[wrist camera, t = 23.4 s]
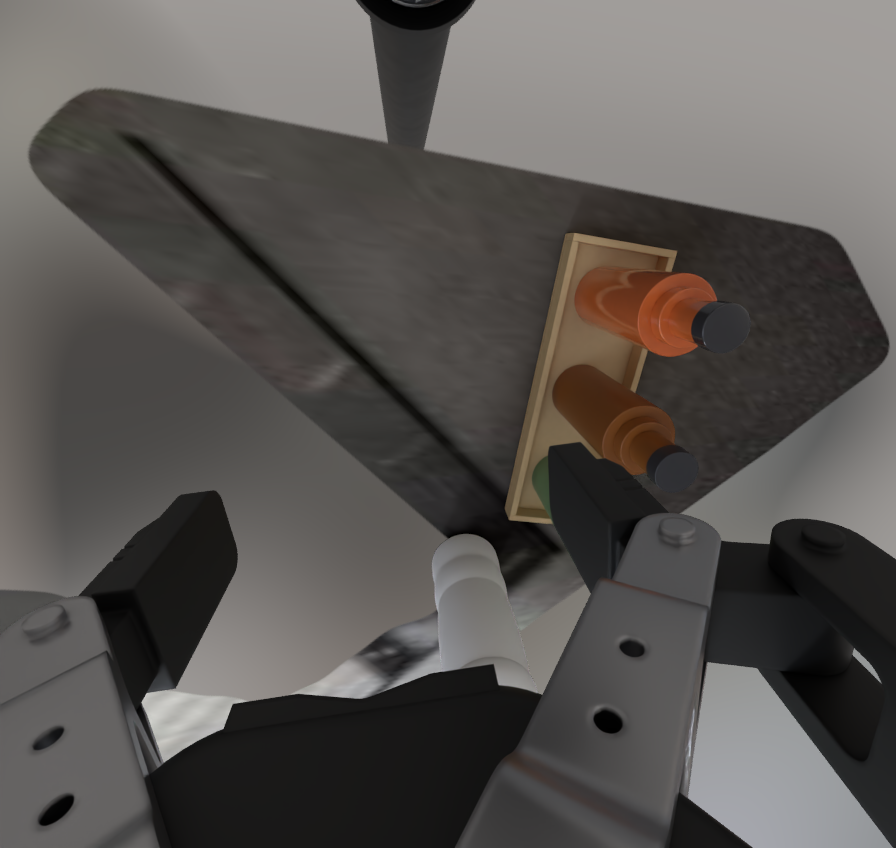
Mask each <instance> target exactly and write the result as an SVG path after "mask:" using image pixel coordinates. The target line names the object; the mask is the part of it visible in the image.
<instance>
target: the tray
mask: <svg viewBox="0 0 896 848" xmlns="http://www.w3.org/2000/svg"><path fill="white" fill-rule="evenodd" d="M676 254H677V251H674V250H668V249H663V248H657V247H651V246H646V245H640V244H635V243H629V242H623V241H618V240H612V239H607V238H601V237H595V236H590V235H584V234H578V233H566V234H565V239H564V243H563V248H562V252H561V257H560V261H559V266H558V270H557V275H556V279H555V284H554V288H553V293H552V297H551V302H550V306H549V311H548V315H547V320H546V324H545V329H544V333H543V338H542V342H541V347H540V352H539V356H538V361H537V365H536V370H535V374H534V379H533V383H532V388H531V392H530V397H529V401H528V406H527V410H526V415H525V419H524V424H523V428H522V433H521V437H520V442H519V446H518V451H517V455H516V460H515V464H514V469H513V473H512V478H511V482H510V487H509V492H508V496H507V501H506V505H505V511H506V513H507V516H508V518H509V520H514V521H525V522H536V523H547V524H553V523H552V521H551V519H550V517H549V515H548V514H547V512H546V510H545V508H544V506H543V504H542V502H541V501H540V499H539V497H538V495H537V493H536V491H535V489H534V487H533V485H532V474H533V471H534V468H535V467H536V465H537V464H538V463H539V461H540V460H542V459H543V458H544V457H546V456H548V450H549V447H550V446H553V445H560V444H568V443H575V442H581V443H582V444H583V445H584V446H585V447H586V448H587V449H588V450H589V451H590V453H591V454H592V455H593V456H594V457H595V458H596V459H602V457H601V456H600V455H599V454H598V453H597V452H596V451H595V450H594V449H593V448H592V447H591V446H590V445H589V443H588V442H587V441H586V440H585V439H584V438H583V437H582V436H581V435H580V434H579V433H578V432H577V431H576V430H575V429H574V427H573V426H572V425H571V424H570V423H569V422H568V421H567V420H566V419H565V418H564V417H563V416H562V415H561V414H560V413H559V411H558V410H557V409H556V408H555V406H554V403H553V400H552V390H553V386H554V384H555V381H556V380H557V378H558V377H559V376H560V374H562V373H563V372H564V371H565V370H567V369H568V368H570V367H573V366H576V365H590V366H593V367H595V368H597V369H598V370H600V371H602V372H603V373H605V374H606V375H608V376H609V377H611V378H613V379H614V380H616V381H617V382H619V383H620V384H622V385H624V386H625V387H627V388H628V389H630V390H631V391H633V392H636V389H637V385H638V382H639V379H640V375H641V372H642V368H643V365H644V362H645V358H646V355H647V352H648V350H646V349H644V348H642V347H639V346H637V345H635V344H632V343H630V342H628V341H625V340H623V339H620V338H618V337H616V336H613V335H611V334H609V333H606V332H604V331H602V330H599V329H597V328H595V327H592V326H590V325H588V324H586V323H585V322H584V321H582V319H581V318H580V317H579V315H578V314H577V312H576V309H575V303H574V298H575V292H576V289H577V286H578V284H579V282H580V281H581V279H582V278H583V277H584V276H585V275H586V274H587V273H588V272H590V271H591V270H593V269H595V268H597V267H600V266H619V267H629V268H639V269H650V270H660V271H670V272H671V271H672V268H673V264H674V261H675V259H674V258H676Z"/></svg>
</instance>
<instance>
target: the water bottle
mask: <svg viewBox="0 0 896 848" xmlns="http://www.w3.org/2000/svg"><path fill="white" fill-rule="evenodd" d="M432 573H433V580H434V584H435V602H436V607H437V610H438V635H439V648H440V658H441V666H442V672H444V671H450V670H457V669H463V668H470V667H476V666H483V665H489V664H494V667H495V671H496V676H497V681H498V685H503V686H511V687H516V688H521V689H526V690H529V691H532V692H536V693H538V691H537V687H536V684H535V682H534V680H533V678H532V676H531V675H530V673H529V666H528V662H527V657H526V653H525V649H524V646H523V642H522V639H521V635H520V631H519V628H518V625H517V622H516V619H515V616H514V613H513V610H512V608H511V605H510V603H509V600H508V598H507V590H506V585H505V582H504V579H503V577H502V574H501V572H500V566H499V562H498V558H497V555H496V552H495V550H494V548H493V547H492V545H491V544H490V543H489V542H488V541H487V540H485V539H484V538H482V537H480V536H477V535H473V534H460V535H456V536H453V537H450V538H449V539H447V540H445V541H444V542H443V543H442V544H440V546H439V547H438V548H437V549H436V551H435V553H434V556H433V559H432Z"/></svg>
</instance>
